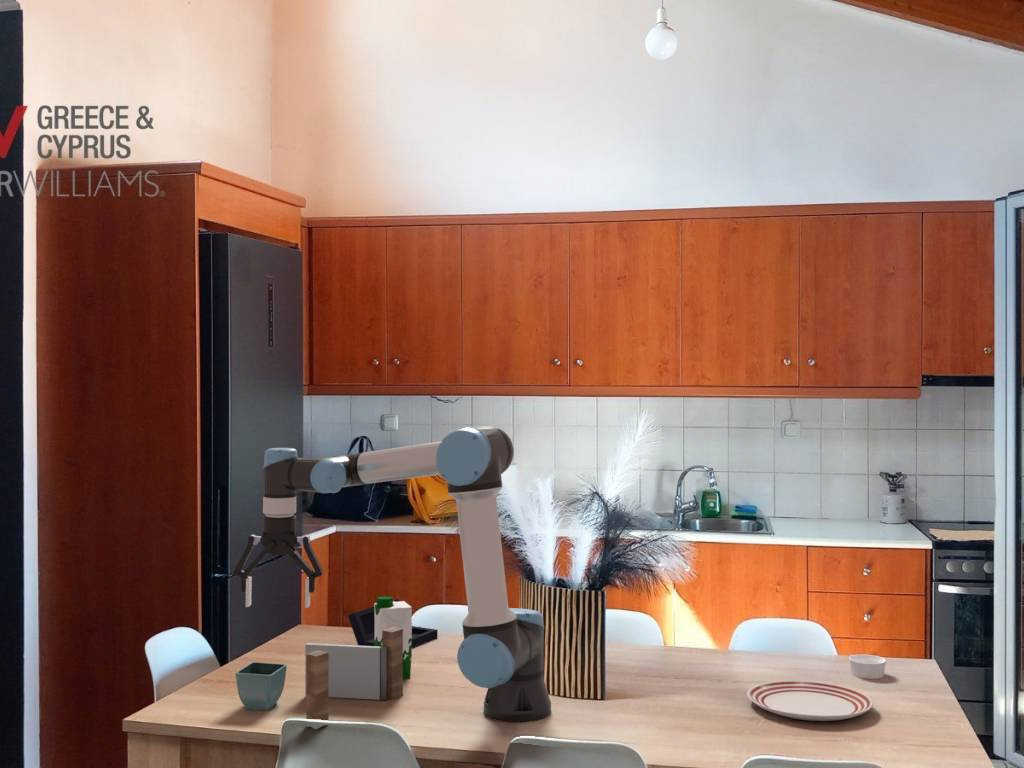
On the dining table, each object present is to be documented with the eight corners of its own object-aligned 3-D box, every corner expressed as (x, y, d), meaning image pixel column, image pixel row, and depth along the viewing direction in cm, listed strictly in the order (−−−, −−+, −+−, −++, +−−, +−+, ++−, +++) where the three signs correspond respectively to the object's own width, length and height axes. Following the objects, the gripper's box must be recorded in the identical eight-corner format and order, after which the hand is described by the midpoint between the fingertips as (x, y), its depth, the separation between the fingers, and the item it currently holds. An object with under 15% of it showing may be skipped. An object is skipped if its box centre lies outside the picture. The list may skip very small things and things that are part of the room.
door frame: (402, 696, 235) (402, 628, 235) (316, 731, 212) (316, 656, 212) (392, 694, 237) (393, 627, 237) (306, 728, 214) (306, 653, 214)
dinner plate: (723, 698, 235) (723, 684, 235) (820, 686, 245) (820, 672, 245) (795, 738, 210) (796, 722, 210) (900, 722, 219) (900, 707, 219)
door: (389, 696, 234) (389, 644, 234) (385, 700, 231) (385, 648, 231) (310, 691, 237) (310, 641, 237) (305, 695, 234) (305, 644, 234)
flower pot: (271, 715, 222) (271, 675, 222) (234, 712, 224) (234, 672, 224) (287, 702, 231) (287, 663, 231) (252, 700, 233) (252, 661, 233)
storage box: (394, 655, 271) (394, 618, 271) (347, 647, 279) (347, 611, 279) (437, 638, 289) (437, 603, 289) (392, 631, 297) (392, 597, 297)
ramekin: (850, 679, 250) (850, 662, 250) (847, 669, 258) (847, 652, 258) (888, 682, 248) (888, 664, 248) (883, 672, 256) (883, 655, 256)
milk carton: (371, 673, 254) (371, 594, 254) (405, 669, 257) (405, 591, 257) (379, 683, 246) (379, 601, 246) (415, 679, 249) (415, 599, 249)
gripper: (335, 513, 236) (334, 602, 236) (229, 511, 235) (227, 601, 235) (331, 517, 228) (329, 610, 229) (221, 516, 227) (219, 609, 228)
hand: (278, 606), depth 232 cm, fingers open, 13 cm apart
